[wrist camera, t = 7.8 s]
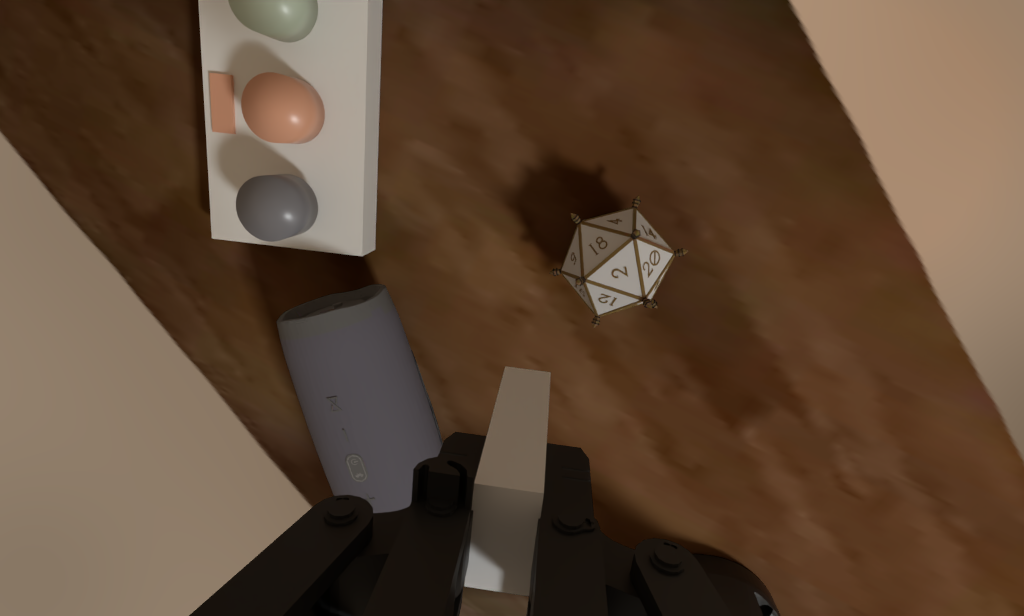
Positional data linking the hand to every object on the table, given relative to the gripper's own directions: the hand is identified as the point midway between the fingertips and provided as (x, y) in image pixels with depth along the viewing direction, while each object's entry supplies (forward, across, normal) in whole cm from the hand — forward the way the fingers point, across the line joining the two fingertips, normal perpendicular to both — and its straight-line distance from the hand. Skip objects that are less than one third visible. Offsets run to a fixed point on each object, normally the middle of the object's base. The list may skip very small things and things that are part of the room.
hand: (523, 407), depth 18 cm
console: (+26, +20, -9) cm, 34 cm away
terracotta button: (+23, +19, -9) cm, 31 cm away
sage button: (+22, +19, -15) cm, 33 cm away
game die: (+27, -5, -1) cm, 27 cm away
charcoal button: (+22, +19, -3) cm, 29 cm away
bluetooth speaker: (+27, +12, +15) cm, 33 cm away
